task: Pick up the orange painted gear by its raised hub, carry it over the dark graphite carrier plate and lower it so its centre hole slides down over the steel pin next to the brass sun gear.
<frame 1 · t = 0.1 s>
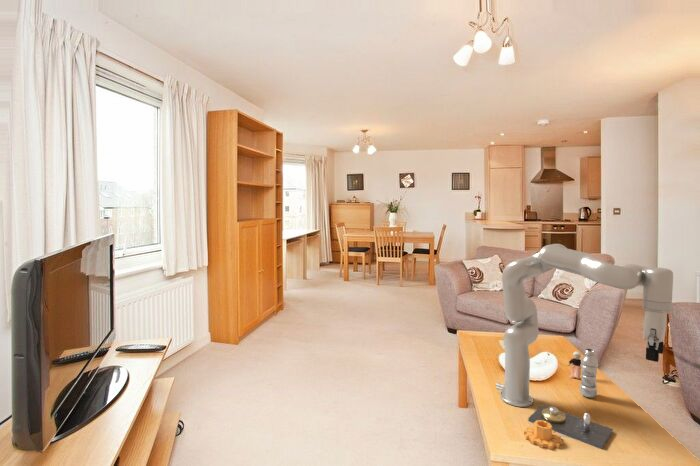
hand: (654, 356, 127), 31 cm above the table, fingers open, 9 cm apart
plastic bottle: (588, 396, 165), on the table
carrier plate: (569, 426, 142), on the table
planet gear: (542, 438, 134), on the table
grandmother figurine: (576, 378, 182), on the table
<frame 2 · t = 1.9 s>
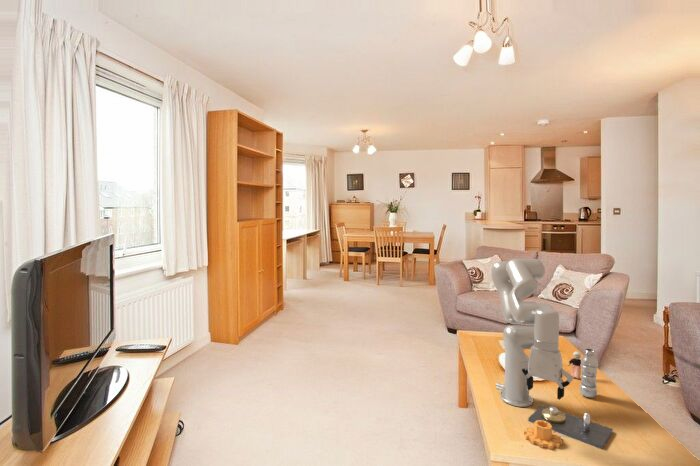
hand: (544, 393, 133), 16 cm above the table, fingers open, 9 cm apart
nothing on the table moved.
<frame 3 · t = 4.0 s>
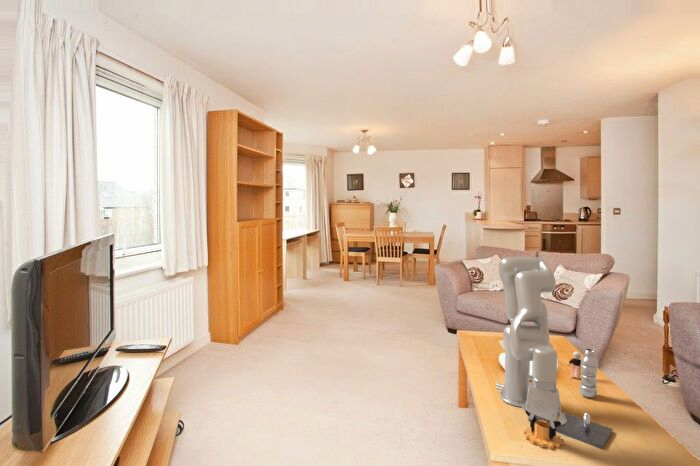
hand: (542, 433, 134), 2 cm above the table, fingers closed on planet gear, 5 cm apart
planet gear: (542, 438, 134), on the table, touching gripper
everything else where it was.
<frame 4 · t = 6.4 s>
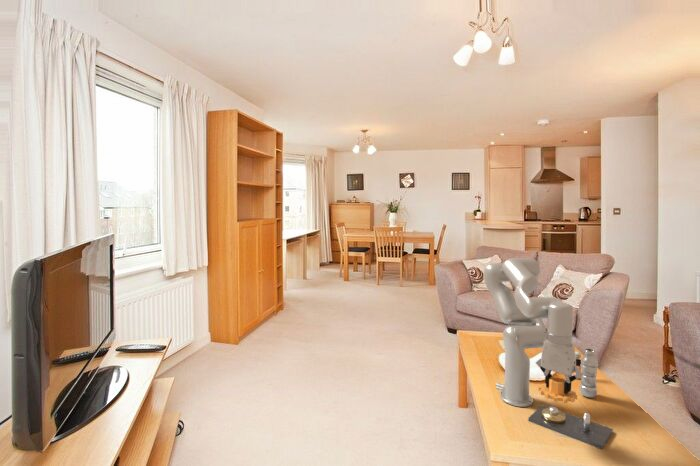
hand: (557, 388, 134), 17 cm above the table, fingers closed on planet gear, 5 cm apart
planet gear: (557, 394, 135), point 15 cm above the table, touching gripper
everything else where it was.
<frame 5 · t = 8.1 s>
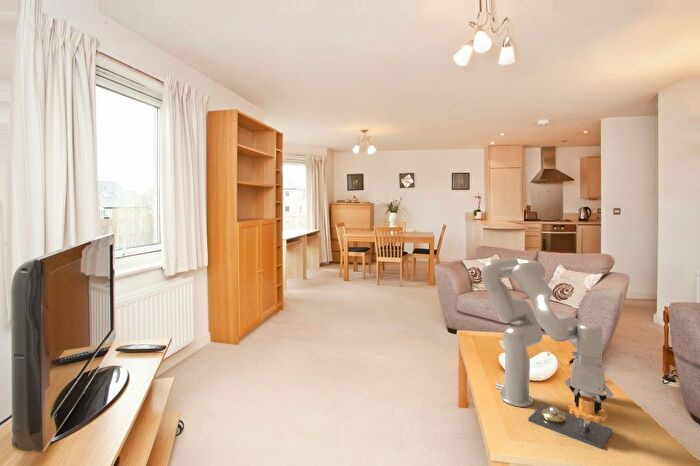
hand: (587, 407, 137), 9 cm above the table, fingers closed on planet gear, 5 cm apart
planet gear: (587, 413, 137), point 7 cm above the table, touching gripper
everything else where it was.
when the fingers open (5 cm above the table, at t = 9.3 s): planet gear drops 2 cm, resting on carrier plate.
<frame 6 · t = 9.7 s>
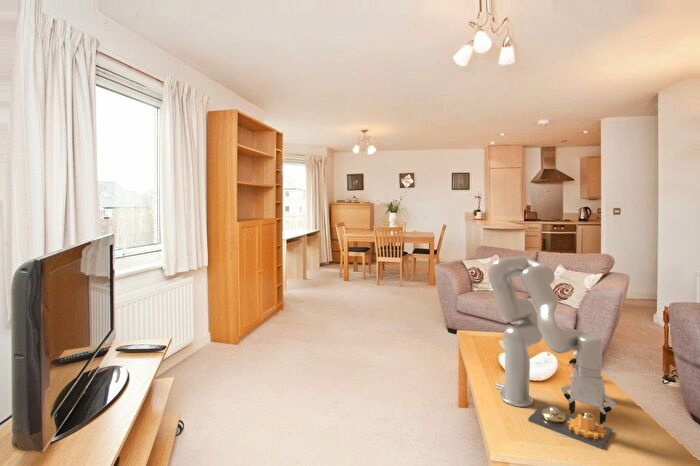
hand: (586, 417, 137), 6 cm above the table, fingers open, 8 cm apart
planet gear: (586, 429, 138), point 1 cm above the table, touching carrier plate
everything else where it was.
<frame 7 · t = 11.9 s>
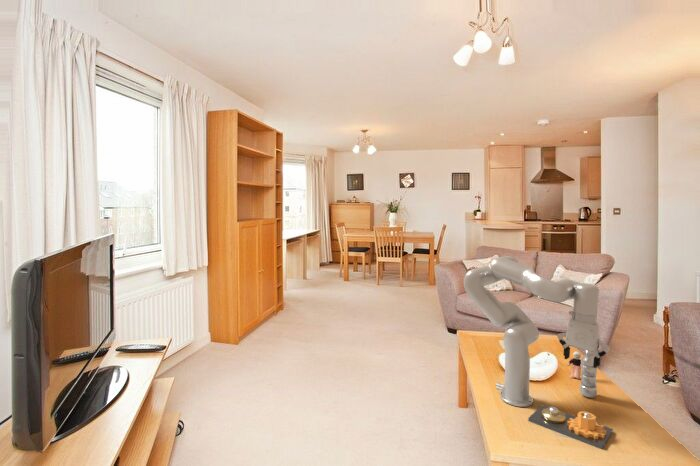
hand: (580, 362, 143), 23 cm above the table, fingers open, 9 cm apart
nothing on the table moved.
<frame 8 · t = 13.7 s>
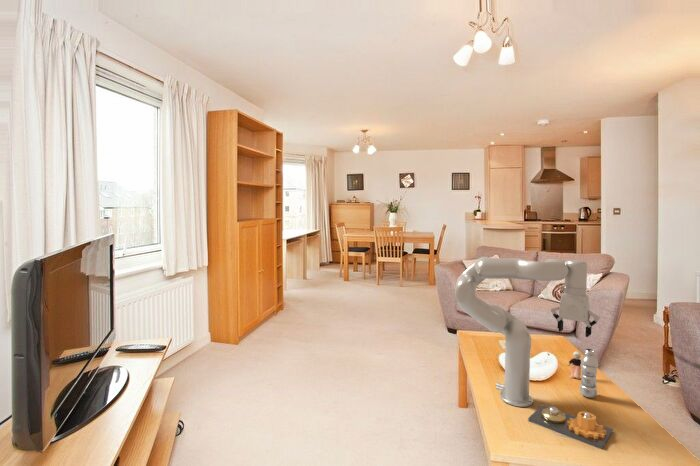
hand: (573, 333, 154), 30 cm above the table, fingers open, 9 cm apart
nothing on the table moved.
at the end: planet gear 0.0 cm from the target spot on the carrier plate, point 1.2 cm above the carrier plate's base; planet gear tilted 0°; the gripper is holding nothing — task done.
